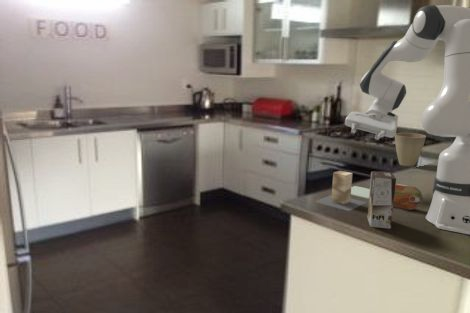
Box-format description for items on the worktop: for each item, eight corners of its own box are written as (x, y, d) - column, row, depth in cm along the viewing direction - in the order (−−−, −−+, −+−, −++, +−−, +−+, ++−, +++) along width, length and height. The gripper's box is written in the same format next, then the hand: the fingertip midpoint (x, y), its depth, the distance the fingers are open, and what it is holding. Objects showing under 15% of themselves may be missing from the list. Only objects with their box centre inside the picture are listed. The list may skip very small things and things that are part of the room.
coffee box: (391, 229, 127) (396, 178, 124) (369, 227, 128) (374, 177, 125) (387, 219, 136) (391, 171, 132) (366, 217, 137) (371, 170, 134)
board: (387, 194, 163) (387, 193, 163) (374, 200, 154) (374, 199, 154) (354, 187, 172) (355, 185, 172) (340, 193, 164) (340, 191, 163)
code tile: (367, 202, 152) (367, 202, 152) (348, 211, 142) (348, 210, 142) (333, 194, 161) (333, 193, 161) (314, 202, 151) (314, 201, 151)
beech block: (350, 202, 152) (352, 173, 150) (343, 205, 148) (345, 175, 146) (337, 198, 155) (340, 170, 153) (331, 201, 151) (333, 172, 149)
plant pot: (391, 160, 225) (394, 132, 222) (421, 163, 220) (424, 133, 217) (391, 166, 212) (394, 135, 208) (423, 169, 207) (427, 138, 203)
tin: (375, 204, 151) (378, 181, 149) (378, 201, 154) (380, 180, 152) (419, 212, 143) (422, 189, 141) (421, 209, 146) (424, 186, 144)
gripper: (352, 104, 174) (340, 121, 165) (402, 116, 164) (391, 135, 156) (350, 117, 178) (338, 134, 169) (399, 129, 168) (389, 148, 160)
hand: (364, 134), depth 162 cm, fingers open, 8 cm apart
